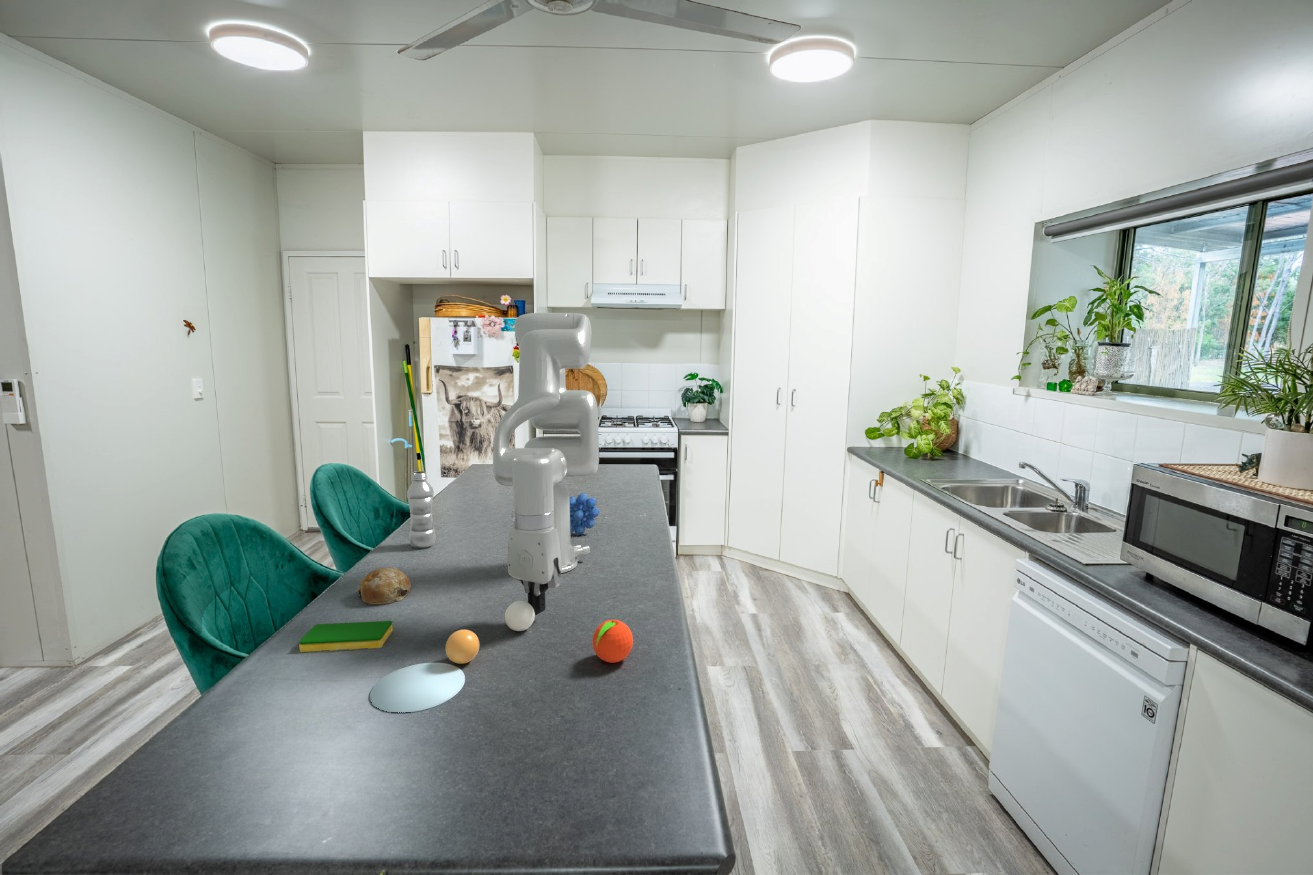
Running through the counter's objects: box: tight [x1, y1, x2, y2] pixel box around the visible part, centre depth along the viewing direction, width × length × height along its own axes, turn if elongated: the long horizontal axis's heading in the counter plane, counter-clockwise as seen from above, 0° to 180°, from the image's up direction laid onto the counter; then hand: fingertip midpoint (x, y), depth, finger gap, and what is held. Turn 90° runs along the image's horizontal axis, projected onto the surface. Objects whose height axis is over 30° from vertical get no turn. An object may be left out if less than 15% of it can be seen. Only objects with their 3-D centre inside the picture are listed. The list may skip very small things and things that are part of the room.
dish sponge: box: [298, 620, 394, 653], centre depth 113 cm, size 7×14×2 cm, turn 96°
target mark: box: [369, 662, 466, 714], centre depth 98 cm, size 14×14×1 cm
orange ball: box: [445, 629, 480, 665], centre depth 105 cm, size 6×6×6 cm
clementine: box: [592, 619, 634, 664], centre depth 105 cm, size 8×7×7 cm
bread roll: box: [355, 567, 412, 606], centre depth 132 cm, size 10×10×8 cm
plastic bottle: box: [406, 470, 437, 549], centre depth 162 cm, size 6×7×20 cm
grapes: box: [569, 492, 600, 536], centre depth 173 cm, size 12×7×12 cm, turn 100°
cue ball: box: [504, 600, 536, 632], centre depth 116 cm, size 6×6×6 cm
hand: (537, 611), depth 120 cm, fingers closed
